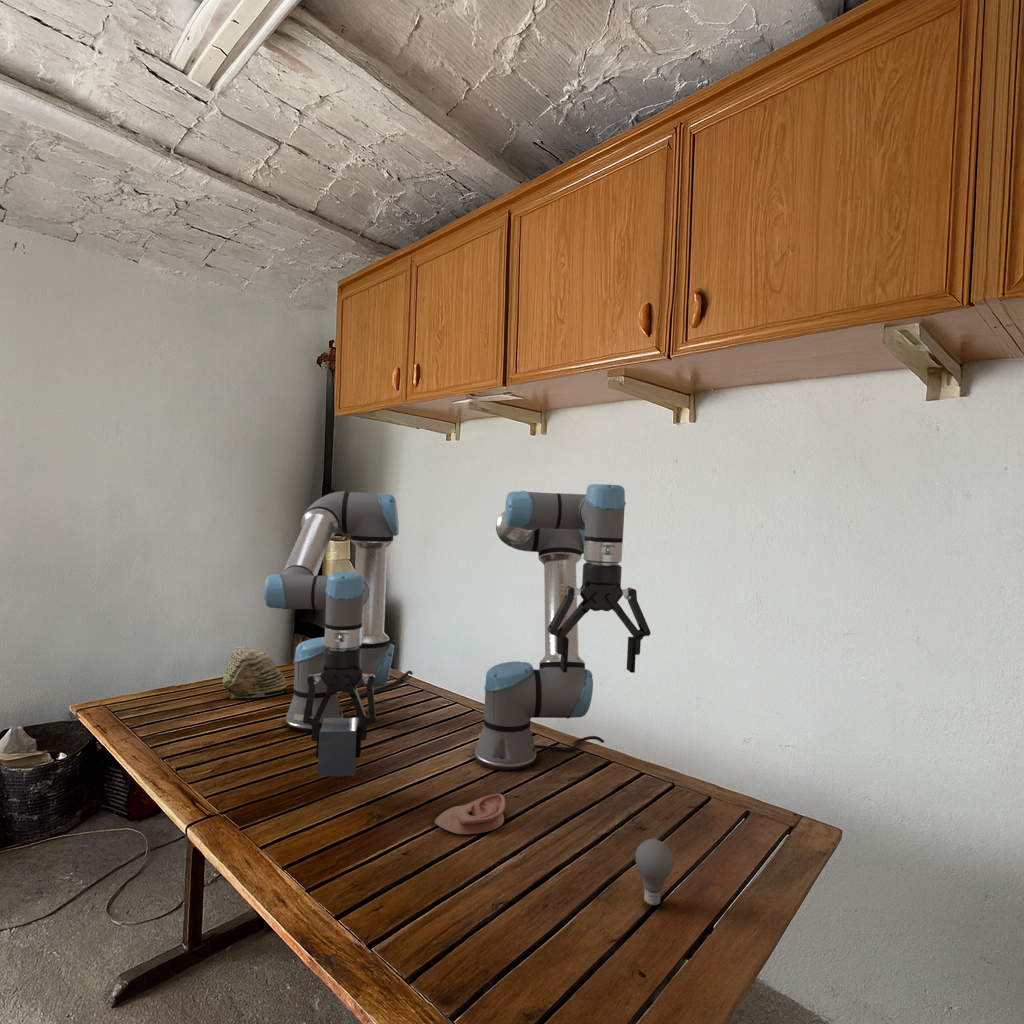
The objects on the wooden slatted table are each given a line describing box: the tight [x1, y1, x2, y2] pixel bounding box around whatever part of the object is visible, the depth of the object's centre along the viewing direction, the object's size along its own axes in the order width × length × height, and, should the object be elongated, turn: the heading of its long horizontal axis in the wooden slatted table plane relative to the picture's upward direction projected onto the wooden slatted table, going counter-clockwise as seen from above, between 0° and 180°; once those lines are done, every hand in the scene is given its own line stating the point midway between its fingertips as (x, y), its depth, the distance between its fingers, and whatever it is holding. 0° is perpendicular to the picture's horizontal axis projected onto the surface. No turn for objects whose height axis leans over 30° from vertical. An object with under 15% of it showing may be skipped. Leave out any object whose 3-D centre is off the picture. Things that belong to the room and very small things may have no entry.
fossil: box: [222, 646, 288, 699], centre depth 198 cm, size 9×18×15 cm, turn 132°
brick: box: [317, 717, 360, 778], centre depth 133 cm, size 7×8×9 cm
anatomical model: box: [434, 793, 506, 835], centre depth 126 cm, size 13×4×12 cm
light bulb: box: [634, 838, 674, 906], centre depth 103 cm, size 6×6×10 cm
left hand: (338, 755), depth 133 cm, fingers closed on brick, 7 cm apart
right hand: (597, 670), depth 124 cm, fingers open, 13 cm apart
